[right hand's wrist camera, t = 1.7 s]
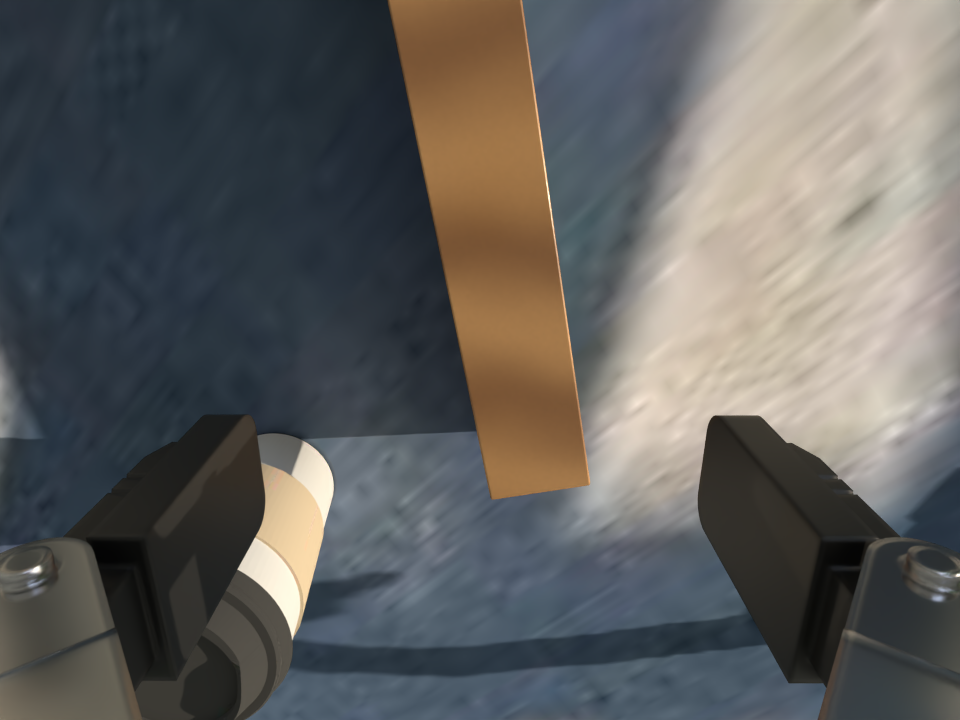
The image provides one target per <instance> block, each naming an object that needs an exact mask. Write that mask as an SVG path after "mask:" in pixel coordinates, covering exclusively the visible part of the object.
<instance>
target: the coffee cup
mask: <svg viewBox="0 0 960 720" xmlns="http://www.w3.org/2000/svg"><path fill="white" fill-rule="evenodd" d="M257 437H258V445H259V452H260V459H261V466H262V473H263V481H264V488H265V512H264V518H263V522H262V525H261V527H260V529H259V531H258V533H257V535H256V537H255V539H254V540H253V542H252V544H251V546H250V548H249V550H248V551H247V553H246V555H245V557H244V559H243V560H242V562H241V564H240V566H239V568H238V570H237V571H236V573H235V575H234V577H233V579H232V580H231V582H230V584H229V586H228V588H227V590H226V591H225V593H224V595H223V597H222V599H221V601H220V602H219V604H218V606H217V608H216V610H215V611H214V613H213V615H212V617H211V619H210V621H209V622H208V624H207V626H206V628H205V630H204V631H203V633H202V635H201V637H200V639H199V641H198V642H197V644H196V646H195V648H194V650H193V651H192V653H191V655H190V657H189V659H188V661H187V662H186V664H185V666H184V668H183V670H182V671H181V673H180V675H179V677H178V679H177V681H142V682H141V683H140V685H139V687H138V688H137V690H136V691H135V696H136V699H137V703H138V706H139V710H140V713H141V717H142V720H245V719H247V718H249V717H250V716H252V715H253V714H254V713H256V712H257V711H258V710H259V709H260V708H261V707H262V706H263V705H264V704H265V703H266V702H267V701H268V699H269V698H270V696H271V695H272V693H273V692H274V691H275V690H276V689H277V687H278V686H279V685H280V684H281V682H282V681H283V680H284V678H285V676H286V674H287V672H288V670H289V667H290V664H291V660H292V652H293V642H292V639H293V637H294V635H295V634H296V632H297V630H298V628H299V626H300V623H301V620H302V616H303V612H304V609H305V605H306V601H307V597H308V593H309V589H310V585H311V581H312V578H313V574H314V570H315V566H316V562H317V558H318V554H319V550H320V546H321V543H322V538H323V529H324V525H325V521H326V518H327V514H328V511H329V507H330V504H331V500H332V496H333V490H334V484H333V477H332V473H331V471H330V468H329V466H328V464H327V462H326V461H325V459H324V458H323V457H322V456H321V454H320V453H319V452H318V451H317V450H316V449H314V448H313V447H312V446H311V445H309V444H308V443H306V442H304V441H302V440H300V439H298V438H295V437H293V436H289V435H285V434H275V433H271V434H262V435H258V436H257Z"/></svg>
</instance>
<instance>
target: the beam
mask: <svg viewBox="0 0 960 720" xmlns="http://www.w3.org/2000/svg"><path fill="white" fill-rule="evenodd" d="M387 1H388V6H389V10H390V15H391V20H392V25H393V30H394V35H395V39H396V44H397V49H398V54H399V59H400V63H401V68H402V73H403V78H404V83H405V88H406V92H407V97H408V102H409V107H410V112H411V116H412V121H413V126H414V131H415V136H416V141H417V145H418V150H419V155H420V160H421V165H422V170H423V174H424V179H425V184H426V189H427V194H428V198H429V203H430V208H431V213H432V218H433V223H434V227H435V232H436V237H437V242H438V247H439V251H440V256H441V261H442V266H443V271H444V276H445V280H446V285H447V290H448V295H449V300H450V305H451V309H452V314H453V319H454V324H455V329H456V333H457V338H458V343H459V348H460V353H461V358H462V362H463V367H464V372H465V377H466V382H467V386H468V391H469V396H470V401H471V406H472V411H473V415H474V420H475V425H476V430H477V435H478V440H479V444H480V449H481V454H482V459H483V464H484V468H485V473H486V478H487V483H488V488H489V493H490V497H491V499H492V500H493V499H500V498H506V497H513V496H520V495H527V494H533V493H540V492H547V491H553V490H560V489H567V488H573V487H580V486H587V485H590V479H589V472H588V464H587V457H586V450H585V443H584V436H583V429H582V422H581V415H580V408H579V401H578V394H577V387H576V379H575V372H574V365H573V358H572V351H571V344H570V337H569V330H568V323H567V316H566V309H565V302H564V294H563V287H562V280H561V273H560V266H559V259H558V252H557V245H556V238H555V231H554V224H553V217H552V209H551V202H550V195H549V188H548V181H547V174H546V167H545V160H544V153H543V146H542V139H541V132H540V124H539V117H538V110H537V103H536V96H535V89H534V82H533V75H532V68H531V61H530V54H529V47H528V40H527V32H526V25H525V18H524V11H523V4H522V0H387Z"/></svg>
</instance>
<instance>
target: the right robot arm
mask: <svg viewBox="0 0 960 720" xmlns="http://www.w3.org/2000/svg"><path fill="white" fill-rule="evenodd" d="M698 511H699V517H700V522H701V525H702V528H703V530H704V532H705V534H706V535H707V537H708V539H709V541H710V543H711V544H712V546H713V548H714V550H715V552H716V553H717V555H718V557H719V559H720V561H721V562H722V564H723V566H724V568H725V570H726V571H727V573H728V575H729V577H730V579H731V580H732V582H733V584H734V586H735V588H736V589H737V591H738V593H739V595H740V597H741V598H742V600H743V602H744V604H745V606H746V607H747V609H748V611H749V613H750V615H751V616H752V618H753V620H754V622H755V624H756V625H757V627H758V629H759V631H760V633H761V634H762V636H763V638H764V640H765V641H766V643H767V645H768V647H769V649H770V650H771V652H772V654H773V656H774V658H775V659H776V661H777V663H778V665H779V667H780V668H781V670H782V672H783V674H784V676H785V677H786V679H787V681H788V683H824V685H825V687H826V688H827V689H826V692H825V696H824V699H823V703H822V706H821V710H820V713H819V717H818V720H960V553H958V552H955V551H953V550H951V549H948V548H946V547H943V546H940V545H937V544H934V543H930V542H927V541H923V540H918V539H912V538H903V537H900V536H899V535H898V534H897V533H896V532H895V531H894V530H893V529H892V528H891V527H890V526H889V525H888V524H887V523H886V522H885V521H884V520H883V519H882V518H881V517H880V516H879V515H877V514H876V513H875V512H874V511H873V510H872V509H871V508H870V507H869V506H868V505H867V504H866V503H865V502H864V501H863V500H862V499H861V498H860V497H859V496H858V495H853V490H852V489H851V488H850V487H849V486H848V485H847V484H846V483H845V482H844V481H842V480H841V479H838V476H837V475H836V474H835V473H834V472H833V471H832V470H831V469H830V468H829V467H828V466H827V465H826V464H825V463H824V462H823V461H822V460H821V459H820V458H818V457H816V456H815V455H813V454H811V453H809V452H807V451H805V450H804V449H802V448H800V447H798V446H796V445H794V444H793V443H786V442H785V441H784V440H783V439H782V438H781V437H780V436H779V435H778V434H777V433H776V432H775V431H774V430H773V429H772V428H771V426H770V425H769V424H768V423H767V422H766V421H765V420H764V419H763V418H761V417H760V416H713V417H712V418H711V420H710V422H709V424H708V428H707V434H706V441H705V448H704V456H703V463H702V470H701V477H700V484H699V491H698ZM264 512H265V488H264V481H263V473H262V466H261V459H260V452H259V445H258V437H257V430H256V425H255V422H254V420H253V418H252V417H251V416H250V415H204V416H202V417H201V418H200V419H199V420H198V421H197V422H196V423H195V424H194V425H193V427H192V428H191V429H190V430H189V431H188V432H187V433H186V434H185V435H184V436H183V437H182V438H181V439H180V440H179V441H178V442H171V443H170V444H168V445H166V446H164V447H162V448H160V449H159V450H157V451H155V452H153V453H151V454H149V455H148V456H146V457H144V458H143V459H142V460H141V461H140V462H139V463H138V464H137V465H136V466H135V467H134V468H133V469H132V470H131V471H130V472H129V473H128V474H127V478H123V479H122V480H121V481H120V482H119V483H118V484H117V485H116V486H115V487H114V488H113V489H112V493H108V494H106V495H105V496H104V497H103V498H102V499H101V500H100V501H99V502H98V503H97V504H96V505H95V506H94V507H93V508H92V509H91V510H90V511H89V512H88V513H87V514H86V515H85V516H84V517H83V518H82V519H81V520H80V521H79V522H78V523H77V524H76V525H75V526H74V527H73V528H72V529H71V530H70V531H69V532H68V533H67V534H66V535H65V536H64V537H57V538H48V539H42V540H37V541H33V542H30V543H26V544H23V545H20V546H17V547H14V548H12V549H9V550H7V551H5V552H2V553H0V720H142V717H141V713H140V710H139V706H138V703H137V699H136V696H135V691H136V690H137V688H138V687H139V685H140V683H141V682H142V681H177V679H178V677H179V675H180V673H181V671H182V670H183V668H184V666H185V664H186V662H187V661H188V659H189V657H190V655H191V653H192V651H193V650H194V648H195V646H196V644H197V642H198V641H199V639H200V637H201V635H202V633H203V631H204V630H205V628H206V626H207V624H208V622H209V621H210V619H211V617H212V615H213V613H214V611H215V610H216V608H217V606H218V604H219V602H220V601H221V599H222V597H223V595H224V593H225V591H226V590H227V588H228V586H229V584H230V582H231V580H232V579H233V577H234V575H235V573H236V571H237V570H238V568H239V566H240V564H241V562H242V560H243V559H244V557H245V555H246V553H247V551H248V550H249V548H250V546H251V544H252V542H253V540H254V539H255V537H256V535H257V533H258V531H259V529H260V527H261V525H262V522H263V518H264Z"/></svg>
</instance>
